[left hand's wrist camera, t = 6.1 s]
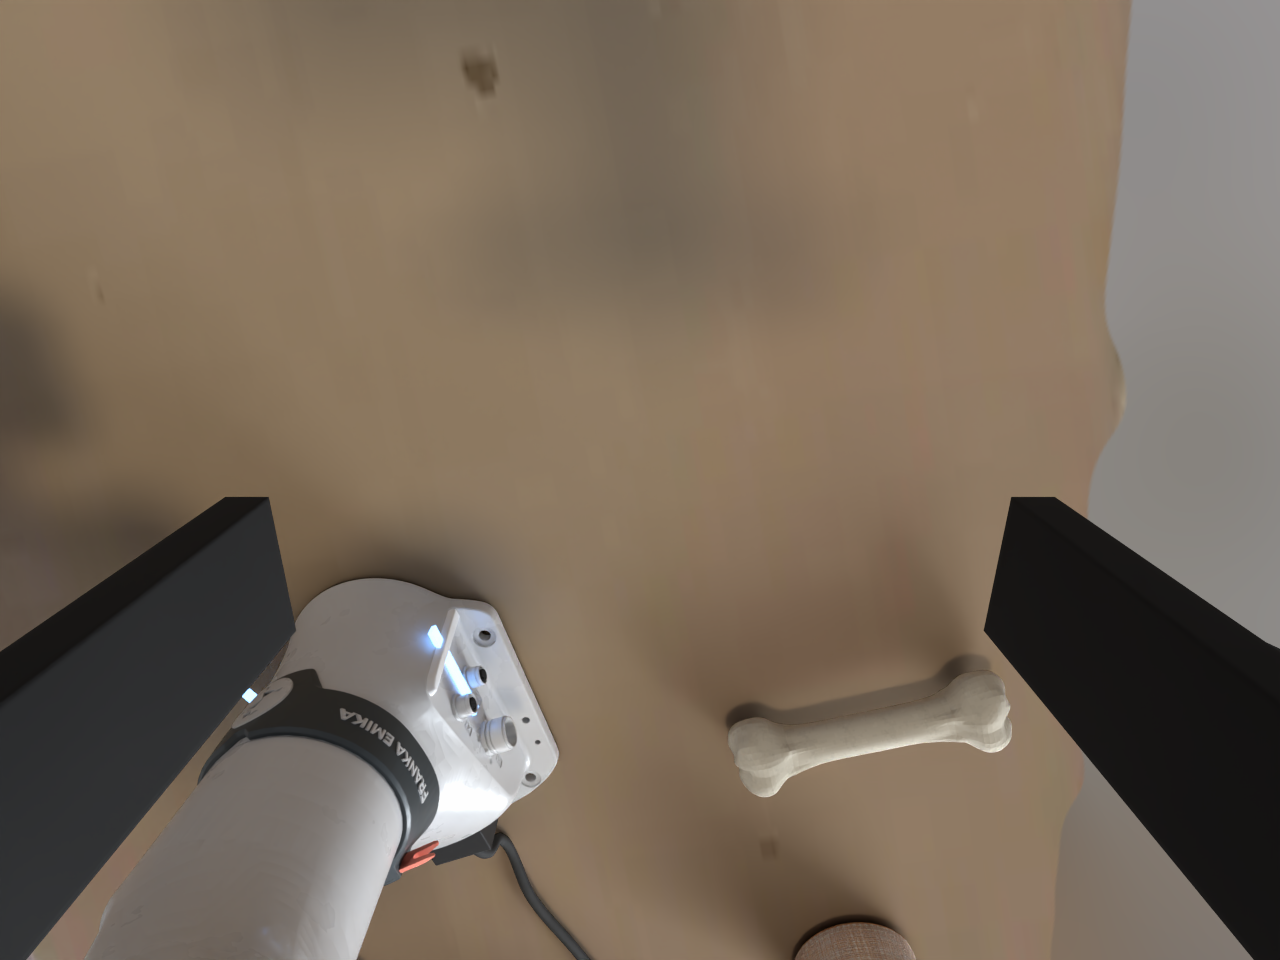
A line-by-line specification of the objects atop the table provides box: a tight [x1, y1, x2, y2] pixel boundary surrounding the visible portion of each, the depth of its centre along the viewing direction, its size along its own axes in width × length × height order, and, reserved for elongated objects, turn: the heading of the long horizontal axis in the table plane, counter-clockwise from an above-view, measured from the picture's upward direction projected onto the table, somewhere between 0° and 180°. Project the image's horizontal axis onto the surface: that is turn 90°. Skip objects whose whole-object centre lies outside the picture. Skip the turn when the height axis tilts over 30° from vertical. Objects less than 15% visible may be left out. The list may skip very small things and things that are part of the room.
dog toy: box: [728, 670, 1012, 797], centre depth 51 cm, size 20×6×5 cm, turn 105°
